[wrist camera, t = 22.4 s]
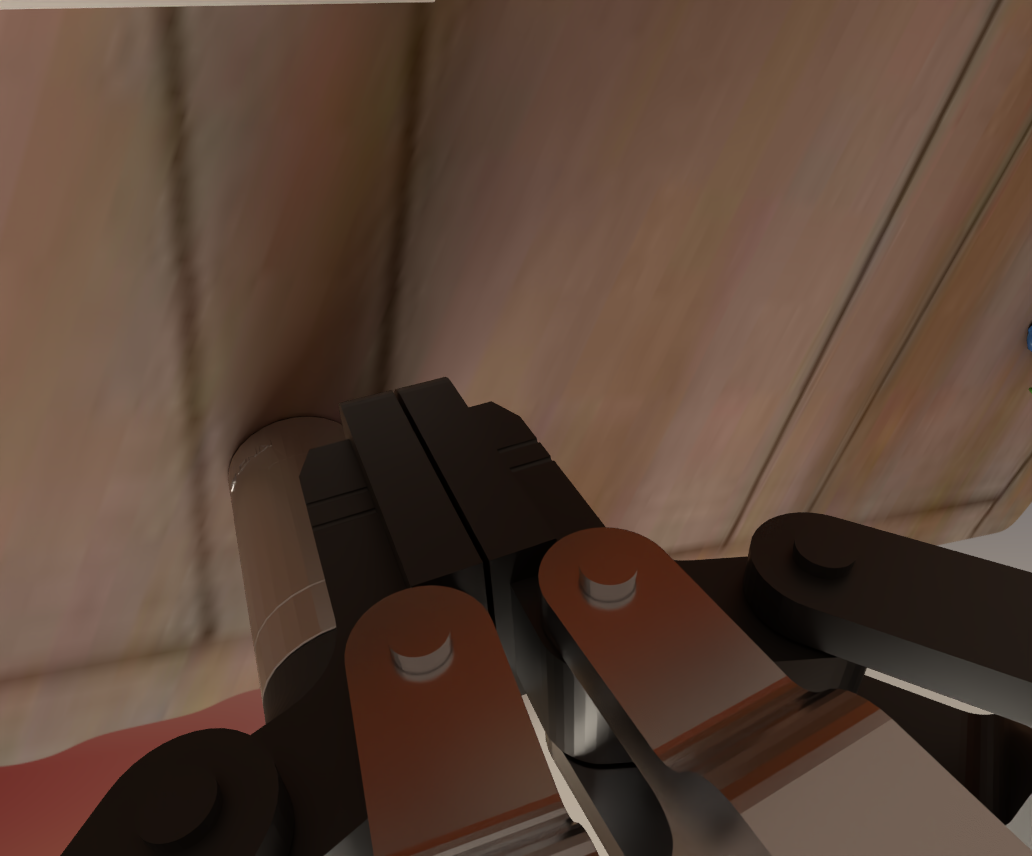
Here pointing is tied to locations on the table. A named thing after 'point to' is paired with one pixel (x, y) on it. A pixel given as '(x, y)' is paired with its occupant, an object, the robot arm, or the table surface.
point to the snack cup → (1030, 344)
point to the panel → (170, 3)
